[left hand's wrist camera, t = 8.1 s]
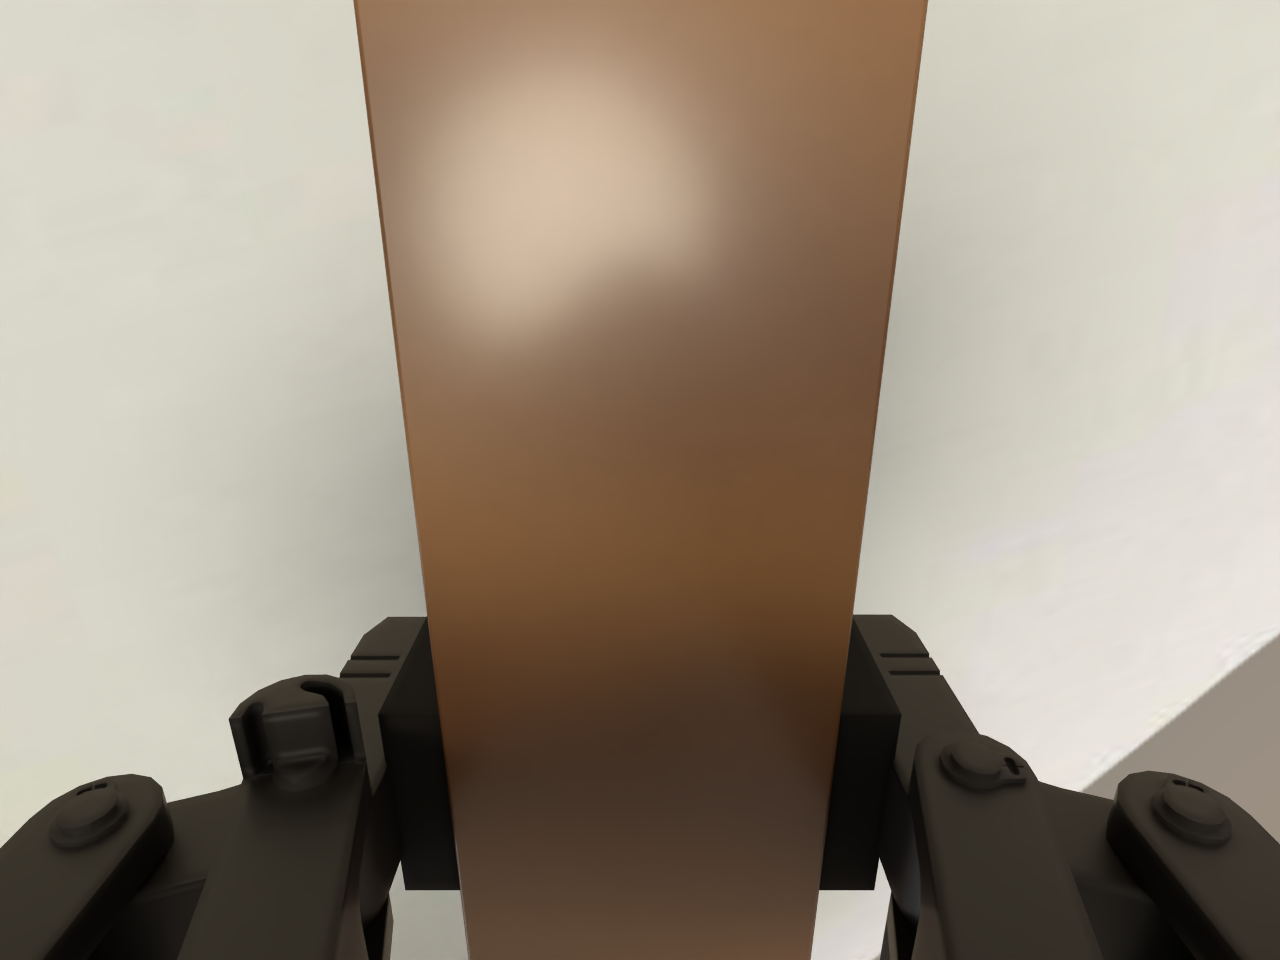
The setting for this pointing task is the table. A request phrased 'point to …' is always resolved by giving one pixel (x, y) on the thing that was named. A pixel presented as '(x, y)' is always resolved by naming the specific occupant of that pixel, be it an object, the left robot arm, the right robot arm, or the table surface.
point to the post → (640, 439)
